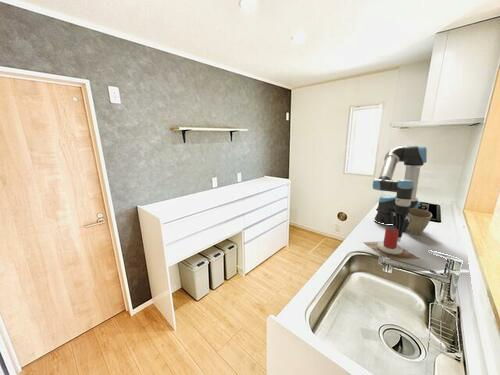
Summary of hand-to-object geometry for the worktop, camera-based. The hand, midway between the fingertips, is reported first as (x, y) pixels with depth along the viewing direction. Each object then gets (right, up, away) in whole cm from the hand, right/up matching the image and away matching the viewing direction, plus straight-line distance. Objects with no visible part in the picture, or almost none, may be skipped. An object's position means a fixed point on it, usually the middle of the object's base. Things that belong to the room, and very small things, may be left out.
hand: (397, 241), depth 128 cm
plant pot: (+32, 0, +26) cm, 41 cm away
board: (-8, -5, -3) cm, 10 cm away
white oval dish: (-5, -4, -1) cm, 7 cm away
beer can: (-8, -2, -4) cm, 9 cm away
